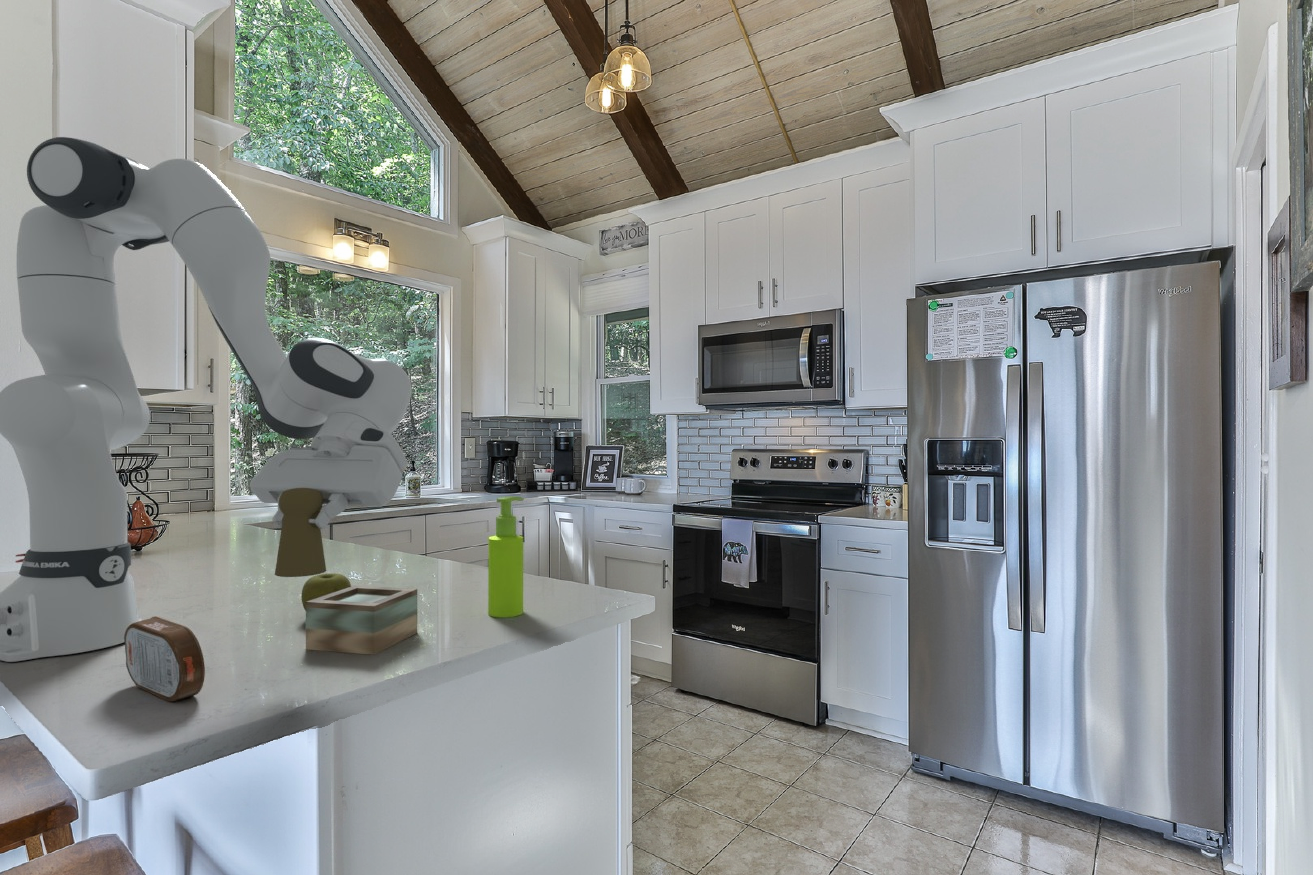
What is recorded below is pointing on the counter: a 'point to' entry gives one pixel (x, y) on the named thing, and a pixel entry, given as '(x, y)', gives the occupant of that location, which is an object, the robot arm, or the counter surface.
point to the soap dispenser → (505, 565)
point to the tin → (164, 658)
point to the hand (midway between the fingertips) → (297, 525)
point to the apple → (323, 586)
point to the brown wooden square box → (361, 619)
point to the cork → (300, 534)
